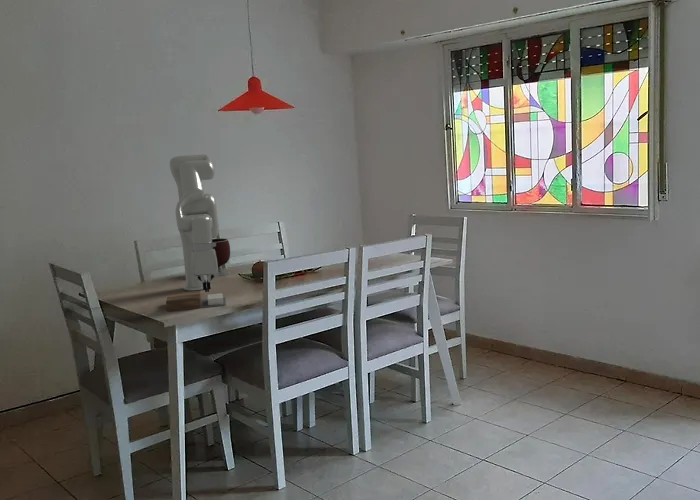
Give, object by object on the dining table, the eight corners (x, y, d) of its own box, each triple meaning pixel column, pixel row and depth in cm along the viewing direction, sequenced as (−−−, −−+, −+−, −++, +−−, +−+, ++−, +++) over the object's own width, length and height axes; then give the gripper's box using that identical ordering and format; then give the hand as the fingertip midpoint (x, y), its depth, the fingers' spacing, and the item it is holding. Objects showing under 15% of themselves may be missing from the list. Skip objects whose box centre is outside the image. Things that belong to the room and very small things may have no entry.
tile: (222, 293, 284) (222, 299, 285) (207, 294, 283) (208, 300, 284) (222, 297, 276) (223, 303, 276) (207, 299, 275) (208, 305, 275)
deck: (169, 303, 283) (168, 294, 283) (201, 300, 286) (200, 291, 285) (167, 311, 270) (166, 301, 269) (200, 308, 272) (199, 298, 272)
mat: (201, 300, 286) (201, 299, 286) (225, 298, 288) (225, 297, 288) (200, 308, 272) (200, 307, 272) (225, 305, 274) (225, 304, 274)
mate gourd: (237, 271, 348) (234, 232, 345) (222, 276, 336) (218, 236, 332) (211, 270, 354) (208, 232, 351) (195, 276, 341) (192, 236, 338)
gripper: (221, 244, 281) (225, 287, 284) (184, 247, 278) (188, 291, 281) (222, 246, 274) (225, 291, 277) (183, 249, 271) (188, 295, 274)
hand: (207, 291), depth 279 cm, fingers closed
